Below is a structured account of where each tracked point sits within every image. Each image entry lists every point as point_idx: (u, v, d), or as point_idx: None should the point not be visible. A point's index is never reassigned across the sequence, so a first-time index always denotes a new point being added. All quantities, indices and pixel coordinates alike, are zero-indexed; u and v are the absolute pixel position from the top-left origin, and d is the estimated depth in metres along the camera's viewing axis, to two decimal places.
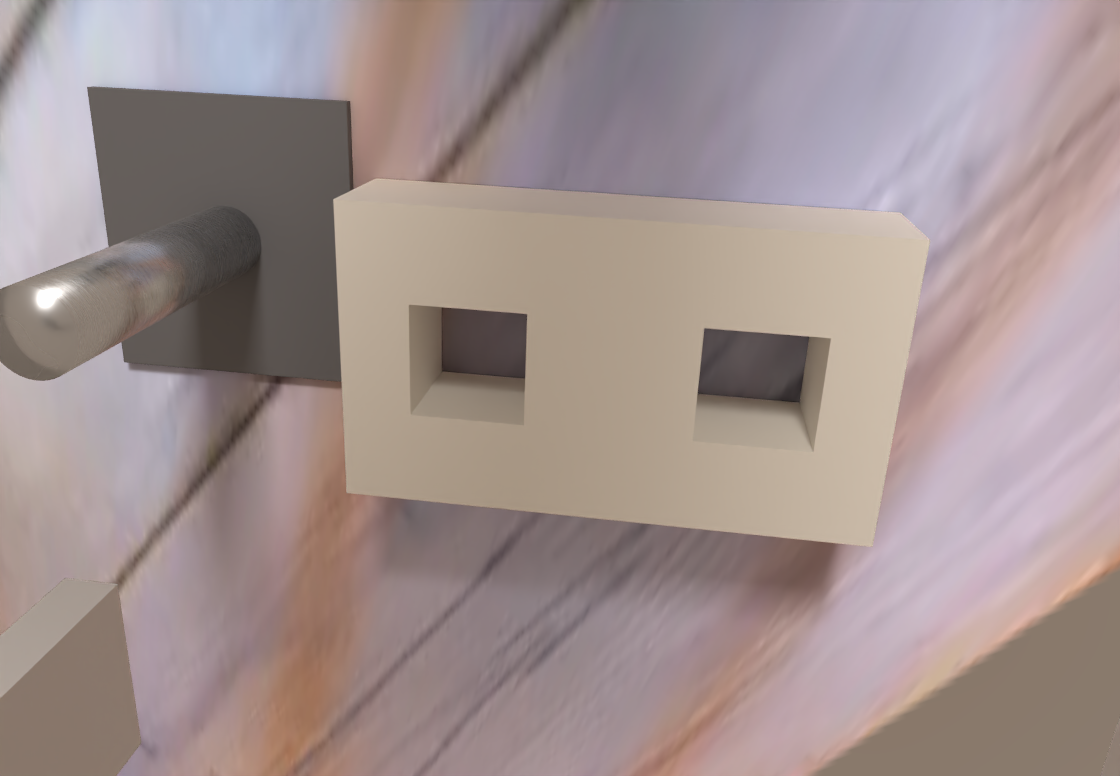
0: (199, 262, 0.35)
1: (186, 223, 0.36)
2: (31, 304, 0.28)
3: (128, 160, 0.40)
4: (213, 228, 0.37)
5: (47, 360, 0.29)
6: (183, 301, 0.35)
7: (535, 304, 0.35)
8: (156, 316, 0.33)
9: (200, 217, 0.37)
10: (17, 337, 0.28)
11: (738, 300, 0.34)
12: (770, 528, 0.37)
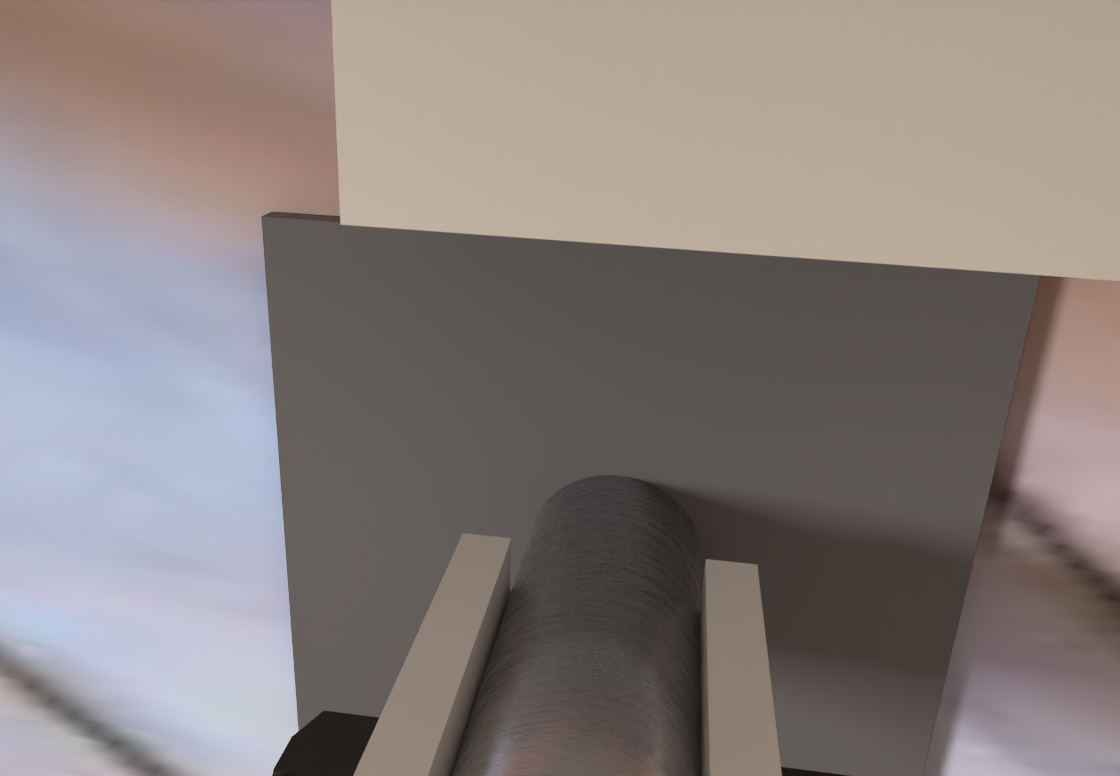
0: (550, 672, 0.11)
1: None
2: None
3: None
4: (519, 591, 0.14)
5: None
6: (646, 764, 0.10)
7: None
8: None
9: None
10: None
11: None
12: None
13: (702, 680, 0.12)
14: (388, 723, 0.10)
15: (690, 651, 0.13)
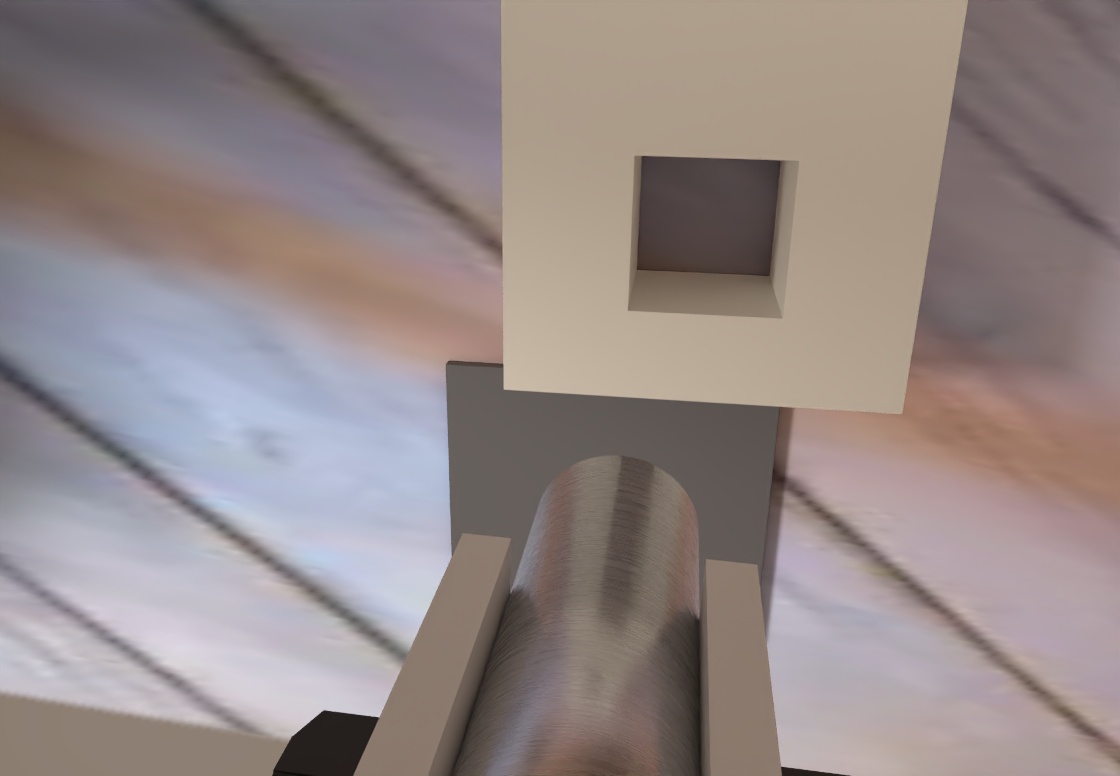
0: (560, 631, 0.12)
1: None
2: None
3: None
4: (528, 562, 0.15)
5: None
6: (648, 711, 0.11)
7: (620, 144, 0.26)
8: None
9: None
10: None
11: None
12: None
13: (702, 680, 0.12)
14: (388, 723, 0.10)
15: (689, 616, 0.14)
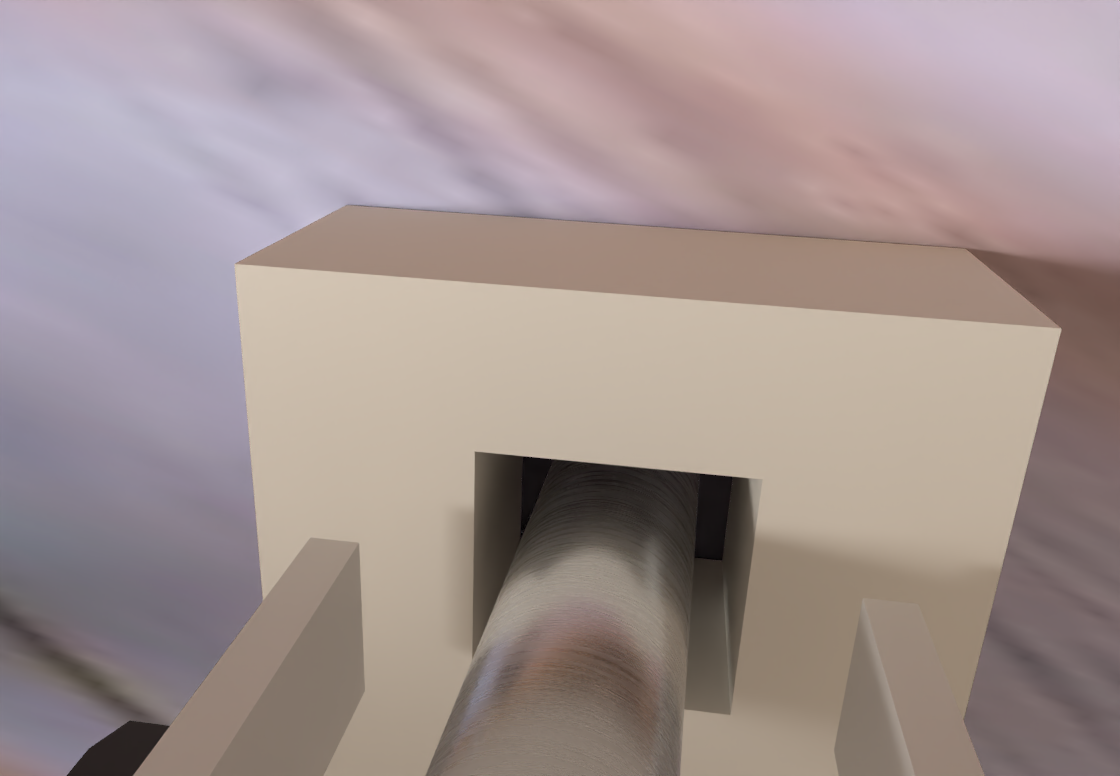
0: (576, 515, 0.15)
1: None
2: None
3: None
4: (552, 473, 0.17)
5: None
6: (646, 571, 0.14)
7: None
8: (635, 652, 0.12)
9: None
10: None
11: (408, 622, 0.16)
12: (977, 569, 0.15)
13: (880, 732, 0.12)
14: (175, 735, 0.10)
15: (686, 516, 0.16)
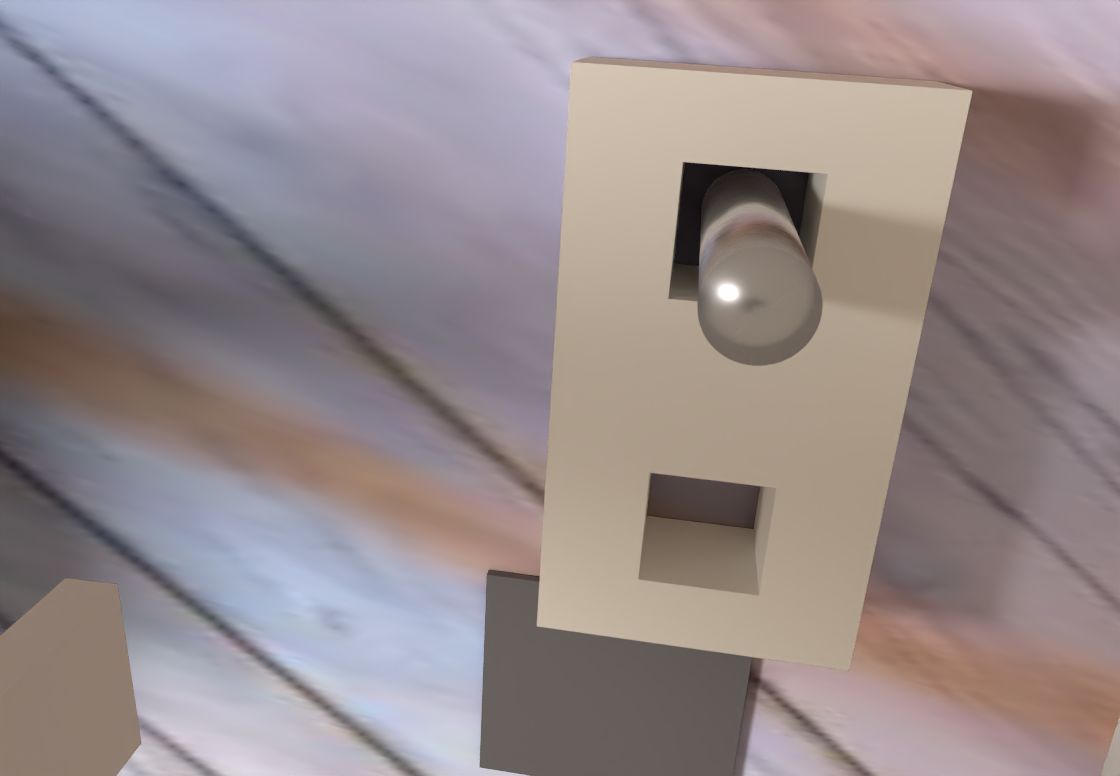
0: (740, 194, 0.30)
1: (702, 220, 0.32)
2: (721, 295, 0.23)
3: (538, 753, 0.45)
4: (713, 196, 0.32)
5: (796, 294, 0.23)
6: (780, 209, 0.29)
7: (639, 464, 0.34)
8: (785, 221, 0.27)
9: (702, 214, 0.33)
10: (763, 325, 0.23)
11: (637, 263, 0.31)
12: (933, 221, 0.29)
13: None
14: None
15: None
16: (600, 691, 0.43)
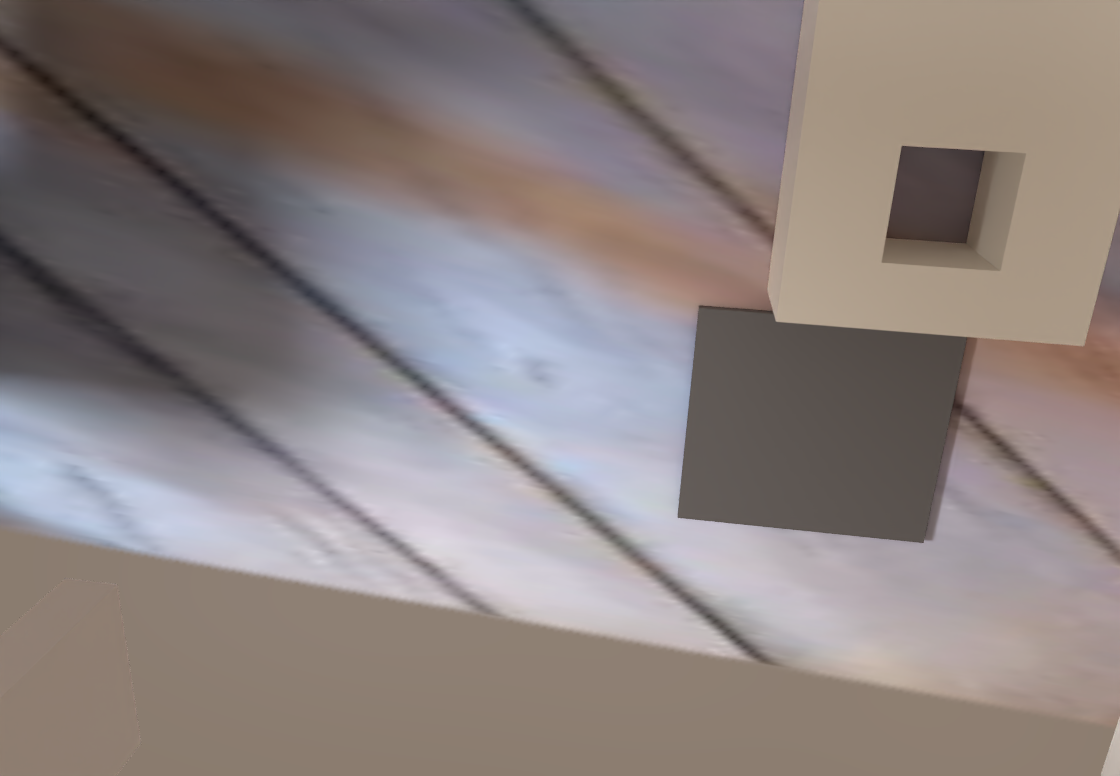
0: None
1: None
2: None
3: (738, 498, 0.47)
4: None
5: None
6: None
7: (892, 137, 0.35)
8: None
9: None
10: None
11: None
12: None
13: None
14: None
15: None
16: (804, 426, 0.45)
